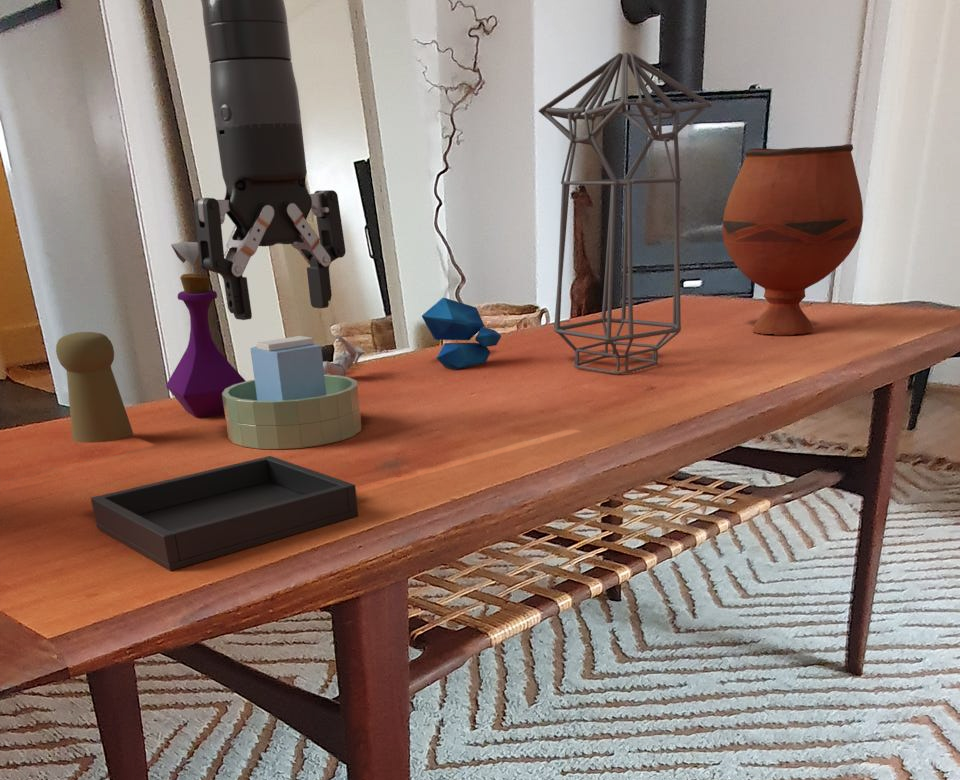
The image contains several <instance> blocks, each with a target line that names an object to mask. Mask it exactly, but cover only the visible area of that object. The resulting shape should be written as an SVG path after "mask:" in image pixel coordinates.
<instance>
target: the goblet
mask: <svg viewBox="0 0 960 780" xmlns="http://www.w3.org/2000/svg"><path fill="white" fill-rule="evenodd" d="M853 150H854V146H853V144H852V143H845V144H841V145H830V146H813V147H812V146H811V147H810V146H804V147H791V148H763V147H762V148H760V147H759V148H758V147H755V148H748V149H747V150H745V151H744V152H745V153H744V155H745V158H744V160H743V162H742V165H741V167H740V169H739V171H738V174H737V177H736V178H735V181H734V184H733V186H732V188H731V190H730V193H729V196H728V198H727V202H726V205H725V207H724V211H723V217H722V227H721V231H722V240H723V244H724V247H725V249H726V251H727V254H728V256H729V257H730V259H731V260H732V262H733V263H734V265H735V266H736V267H737V269H738V270H739V271H740V272H741V273H742V275H744V276H745V277H746V278H747V279H748V280H750V281H751V282H753V283H754V284H756V285H757V286H759V287H761V288H763V289H764V294H763V297H764V299H765V300H766V301H767V302H768V303H769V304H768V306H767V309H766V310H765V311H764V312H763V313H762V314H761V315H760V316H759V318H758V319H757V320H756V321H755V322H754V324H753V327H752V330H753V331H754V332H756V333H755V334H757V333H762V334H761V335H763V334H774V335H773V336H795V335H794V334H799V335H806V333H807V334H810V332H811V333H812V332H813V331H814V327H813V323H812V321H811V320H810V319H809V317H807V315H806V314H805V313H804V311H803V310H802V308H801V305H800V304H801V302H802V301H803V300H804V299H805V298H806V290H807V289H808V288H810V287H812V286H814V285H815V284H818V283H819V282H820V281H822V280H824V279H825V278H826V277H827V276H829V275H830V274H831V273H833V272H834V271H835V270H836V269H837V268H838V267H839V266H840V265H841V264H842V263H843V262H844V261H845V260H846V259H847V258H848V257H849V255H850V254H851V252H852V251H853V249H854V248H855V246H856V244H857V242H858V241H859V238H860V235H861V232H862V228H863V222H864V208H863V207H864V206H863V199H862V198H863V197H862V192H861V188H860V184H859V179H858V175H857V171H856V166H855V161H854V158H853V154H852V151H853ZM753 331H752V332H753ZM754 332H753V333H754Z"/></svg>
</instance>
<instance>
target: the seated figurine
mask: <svg viewBox="0 0 960 780" xmlns="http://www.w3.org/2000/svg"><path fill="white" fill-rule="evenodd" d="M333 338H336V339H337V340H335V343H342V345H343V347H344V350H343V351H342V352H340V353H339V354H338V355H336V356H335V358H334V359H333V361H332V362H330V361H329V360H326V361H325V360H323V367H324V374H327V375H339V376H344V377H346V375H347V372H348V371H349V369H350V368H351V367H353V366H354V364H355V365H357V364H358V361H359V359H360V357H361V356H363V355H364V354H365V353H366V351H365V350H364V349H362V348H361V347H358V346H355V345H353V344H351V343H350V342H349V341H348V340H346V339H345V338H343V337H342V336H339V335H334V336H333Z"/></svg>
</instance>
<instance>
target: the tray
mask: <svg viewBox="0 0 960 780" xmlns="http://www.w3.org/2000/svg"><path fill="white" fill-rule="evenodd" d="M90 501H91V502H90V503H91V506H92V510H93V515H94V519H95V524H96V529H97V530H99V531H100V532H102V533H104V534H106V535H107V536H109V537H111V538H112V539H114V540H116V541H118V542H119V543H121V544H123V545H125V546H127V547H128V548H130V549H131V550H133V551H135V552H137V553H138V554H140V555H141V556H144V557H146V558H147V559H149V560H151V561H152V562H154V563H156V564H157V565H160V566H161V567H162V568H165V569H166V570H168V571H170V572H172V571H175V570H178V569H181V568H185V567H189V566H192V565H195V564H199V563H202V562H207V561H210V560H213V559H215V558H220V557H222V556H226V555H229V554H232V553H236V552H239V551H240V552H241V551H243V550H246V549H250V548H254V547H257V546H260V545H264V544H266V543H271V542H273V541H277V540H280V539H284V538H287V537H290V536H293V535H294V536H295V535H298V534H300V533H304V532H307V531H311V530H314V529H318V528H321V527H325V526H328V525H331V524H335V523H338V522H342V521H344V520H348V519H352V518H355V517H358V516H359V509H358V501H357V489H356V484H354V483H351V482H348V481H345V480H342V479H340V478H336V477H334V476H330V475H328V474H325V473H321V472H318V471H316V470H313V469H310V468H308V467H304V466H301V465H298V464H295V463H292V462H289V461H286V460H283V459H281V458H278V457H274V456H272V455H267V456H264V457H263V456H262V457H259V458H255V459H250V460H246V461H242V462H237V463H233V464H228V465H226V466H221V467H216V468H211V469H209V470H208V469H207V470H204V471H199V472H195V473H191V474H190V473H189V474H187V475H182V476H178V477H173V478H170V479H166V480H161V481H157V482H152V483H148V484H143V485H140V486H135V487H131V488H127V489H124V490H119V491H115V492H114V491H113V492H110V493H105V494H102V495H97V496H93V497H90Z"/></svg>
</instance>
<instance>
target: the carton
mask: <svg viewBox="0 0 960 780" xmlns="http://www.w3.org/2000/svg"><path fill="white" fill-rule="evenodd" d="M314 343H315V342H314V337H310V336H304V335H297V336H296V335H295V336H290V337H284V338H276V339H270V340H266V341H265V340H264V341H258V342H256V343H255V344H256V346H252V347H249V349H250V355H251V365H252V371H253V378H254V379H253V380H255V386H256V394H257V400H260V401H278V400H295V399H304V398H312V397H319V396H324V395H326V386H325V377H324V367H323V362H324V358H323V350H322V345H319V344H314Z"/></svg>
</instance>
